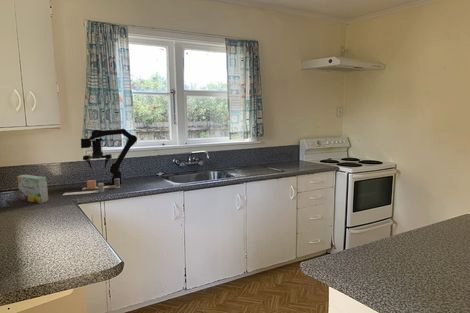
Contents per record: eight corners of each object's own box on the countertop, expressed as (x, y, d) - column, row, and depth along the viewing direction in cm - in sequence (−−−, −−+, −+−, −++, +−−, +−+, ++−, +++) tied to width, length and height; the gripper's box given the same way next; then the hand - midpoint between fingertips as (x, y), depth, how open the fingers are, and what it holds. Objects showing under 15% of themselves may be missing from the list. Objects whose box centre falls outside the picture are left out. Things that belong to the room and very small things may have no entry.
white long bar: (104, 191, 220) (103, 182, 219) (103, 193, 214) (102, 184, 213) (64, 194, 214) (63, 185, 213) (62, 196, 208) (61, 187, 207)
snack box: (19, 200, 202) (16, 175, 200) (28, 197, 207) (25, 174, 205) (40, 203, 192) (37, 178, 190) (49, 201, 197) (47, 176, 195)
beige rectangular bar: (119, 186, 235) (119, 178, 234) (119, 187, 229) (118, 179, 228) (83, 188, 228) (82, 180, 228) (81, 190, 223) (81, 182, 222)
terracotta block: (96, 186, 230) (95, 179, 229) (95, 188, 225) (94, 181, 225) (88, 187, 229) (88, 180, 228) (87, 189, 224) (86, 181, 223)
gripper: (80, 149, 226) (82, 171, 228) (109, 147, 231) (111, 169, 233) (83, 147, 237) (85, 169, 239) (111, 146, 241) (112, 167, 243)
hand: (98, 168), depth 238 cm, fingers open, 9 cm apart
